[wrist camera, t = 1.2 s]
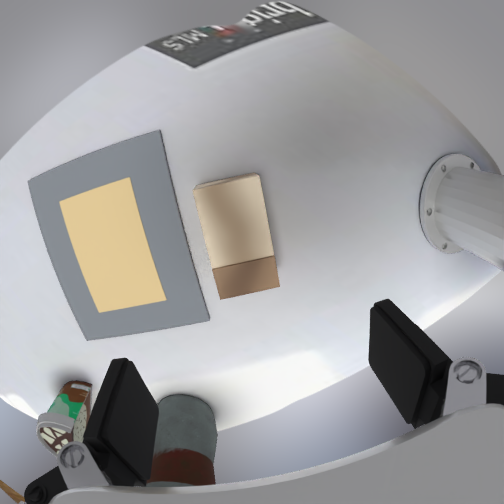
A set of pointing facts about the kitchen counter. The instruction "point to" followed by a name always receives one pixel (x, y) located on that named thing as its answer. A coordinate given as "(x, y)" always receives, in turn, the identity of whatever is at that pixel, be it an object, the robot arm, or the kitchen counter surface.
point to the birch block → (237, 235)
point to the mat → (119, 240)
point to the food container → (66, 417)
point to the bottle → (184, 444)
